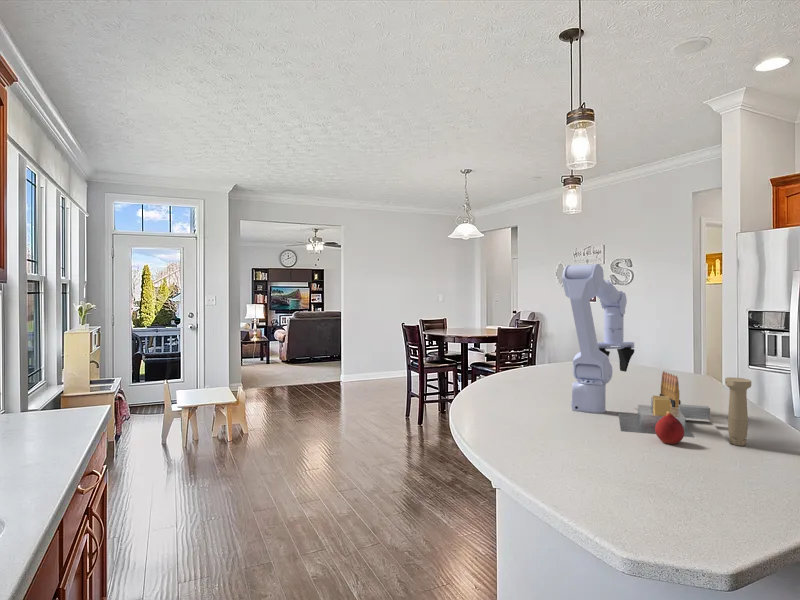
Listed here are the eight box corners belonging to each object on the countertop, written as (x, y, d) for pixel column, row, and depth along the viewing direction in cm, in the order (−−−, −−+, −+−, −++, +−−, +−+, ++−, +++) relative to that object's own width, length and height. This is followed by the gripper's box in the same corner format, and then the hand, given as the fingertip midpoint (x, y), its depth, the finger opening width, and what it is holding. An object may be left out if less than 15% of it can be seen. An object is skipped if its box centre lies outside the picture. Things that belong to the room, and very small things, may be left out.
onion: (681, 444, 121) (681, 410, 121) (686, 451, 116) (686, 415, 116) (653, 442, 123) (653, 408, 123) (657, 449, 118) (657, 413, 118)
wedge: (654, 422, 134) (654, 399, 134) (652, 418, 139) (652, 395, 139) (670, 424, 132) (670, 400, 132) (667, 419, 138) (667, 396, 138)
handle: (745, 441, 124) (746, 378, 124) (754, 449, 118) (754, 382, 118) (722, 439, 125) (722, 377, 125) (729, 447, 119) (729, 381, 119)
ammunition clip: (680, 418, 147) (681, 376, 147) (674, 418, 147) (674, 375, 147) (665, 410, 158) (665, 370, 158) (659, 410, 158) (659, 370, 158)
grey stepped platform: (620, 435, 130) (620, 408, 130) (618, 416, 149) (618, 394, 149) (723, 444, 122) (723, 416, 122) (706, 423, 141) (707, 399, 141)
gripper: (603, 329, 160) (603, 374, 160) (641, 329, 165) (641, 372, 165) (588, 328, 167) (588, 371, 167) (625, 327, 171) (625, 369, 171)
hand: (613, 371), depth 166 cm, fingers open, 7 cm apart
